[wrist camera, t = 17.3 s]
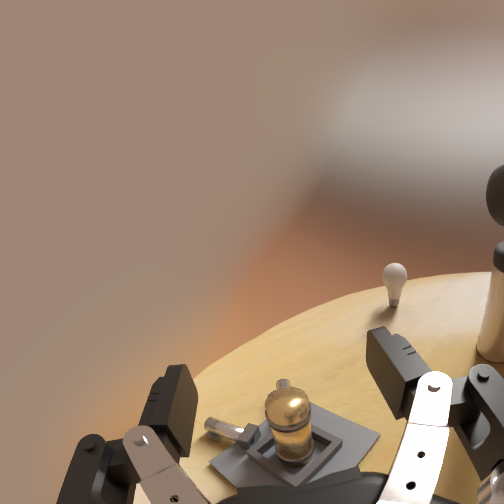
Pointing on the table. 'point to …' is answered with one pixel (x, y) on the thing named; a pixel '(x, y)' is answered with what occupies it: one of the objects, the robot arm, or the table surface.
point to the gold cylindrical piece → (290, 425)
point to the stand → (322, 463)
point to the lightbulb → (394, 281)
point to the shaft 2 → (282, 383)
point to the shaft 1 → (232, 432)
